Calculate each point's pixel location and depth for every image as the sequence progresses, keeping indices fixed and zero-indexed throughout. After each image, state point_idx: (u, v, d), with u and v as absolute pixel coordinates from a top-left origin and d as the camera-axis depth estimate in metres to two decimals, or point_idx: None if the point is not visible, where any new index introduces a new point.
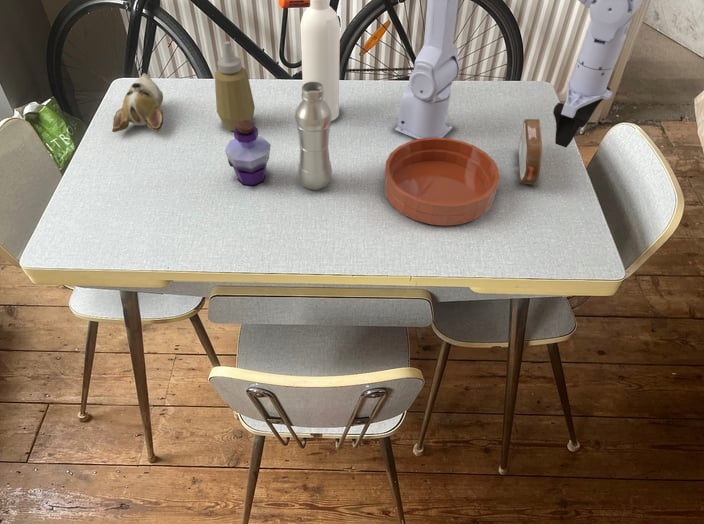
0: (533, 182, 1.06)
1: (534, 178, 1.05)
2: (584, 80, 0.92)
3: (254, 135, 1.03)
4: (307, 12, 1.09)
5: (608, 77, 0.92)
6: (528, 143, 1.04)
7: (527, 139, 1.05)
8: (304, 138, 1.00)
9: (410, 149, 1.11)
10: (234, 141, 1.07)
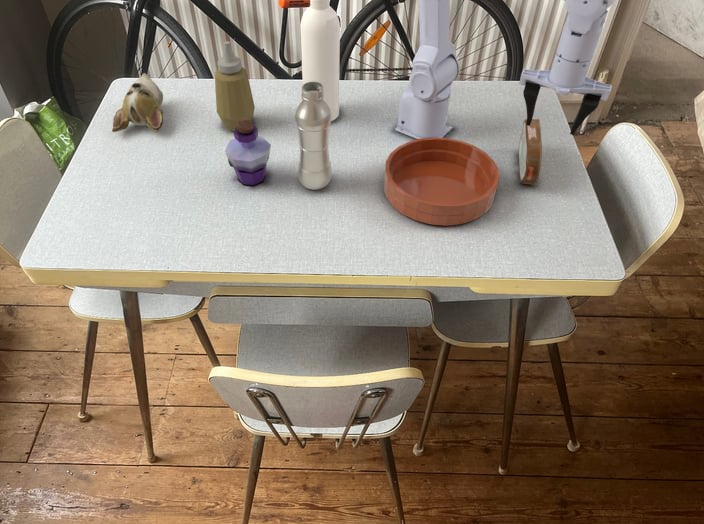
0: (533, 182, 1.06)
1: (534, 178, 1.05)
2: None
3: (254, 135, 1.03)
4: (307, 12, 1.09)
5: (564, 70, 0.93)
6: (528, 143, 1.04)
7: (527, 139, 1.05)
8: (304, 138, 1.00)
9: (410, 149, 1.11)
10: (234, 141, 1.07)
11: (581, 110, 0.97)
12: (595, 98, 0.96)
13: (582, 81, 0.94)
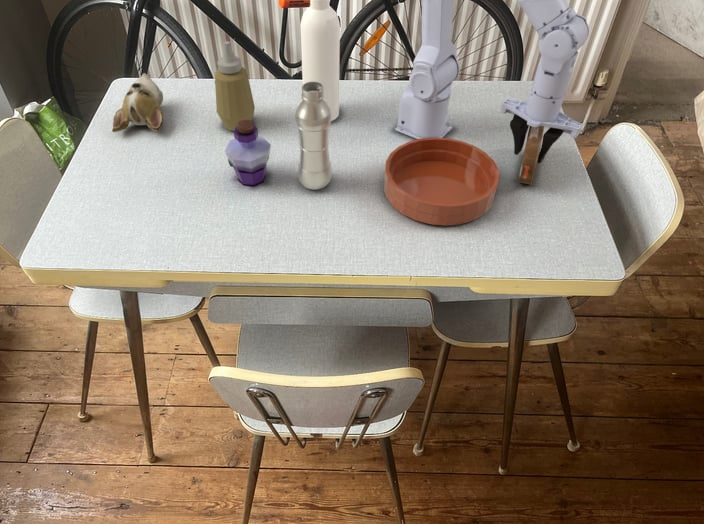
0: (529, 182, 1.06)
1: (529, 178, 1.05)
2: None
3: (254, 135, 1.03)
4: (307, 12, 1.09)
5: (536, 104, 1.00)
6: (527, 142, 1.04)
7: (527, 138, 1.05)
8: (304, 138, 1.00)
9: (410, 149, 1.11)
10: (234, 141, 1.07)
11: (543, 141, 1.03)
12: (557, 131, 1.02)
13: (553, 116, 1.01)
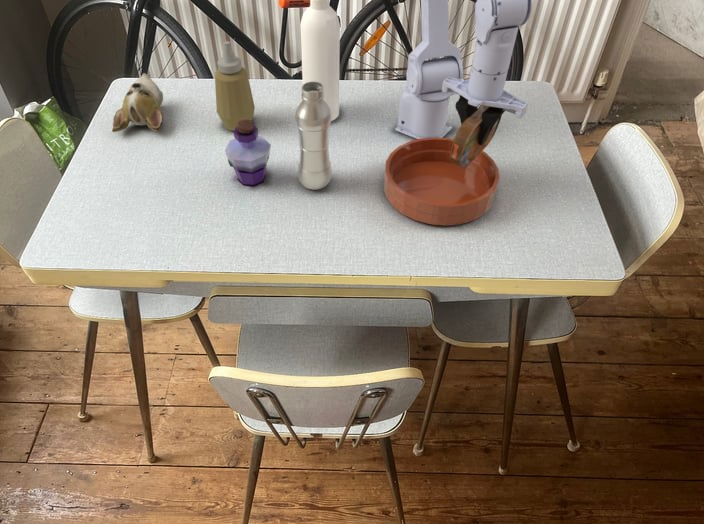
0: (459, 163, 0.99)
1: (458, 158, 0.98)
2: None
3: (254, 135, 1.03)
4: (307, 12, 1.09)
5: (476, 81, 0.92)
6: (466, 120, 0.97)
7: (469, 117, 0.98)
8: (304, 138, 1.00)
9: (410, 149, 1.11)
10: (234, 141, 1.07)
11: (483, 120, 0.96)
12: (497, 110, 0.94)
13: (496, 95, 0.93)
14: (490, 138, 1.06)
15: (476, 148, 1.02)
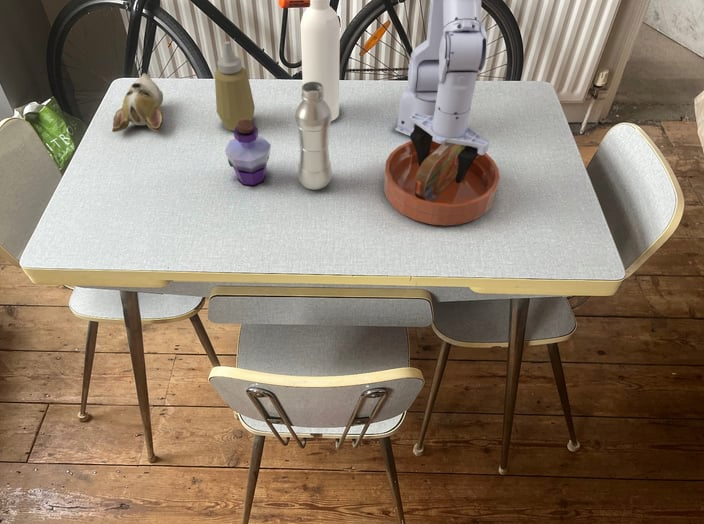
0: (423, 198, 1.02)
1: (422, 194, 1.01)
2: None
3: (254, 135, 1.03)
4: (307, 12, 1.09)
5: (439, 119, 0.95)
6: (427, 157, 1.01)
7: (430, 154, 1.01)
8: (304, 138, 1.00)
9: (410, 149, 1.11)
10: (234, 141, 1.07)
11: (459, 161, 0.98)
12: (473, 151, 0.96)
13: (459, 132, 0.96)
14: None
15: (442, 183, 1.06)
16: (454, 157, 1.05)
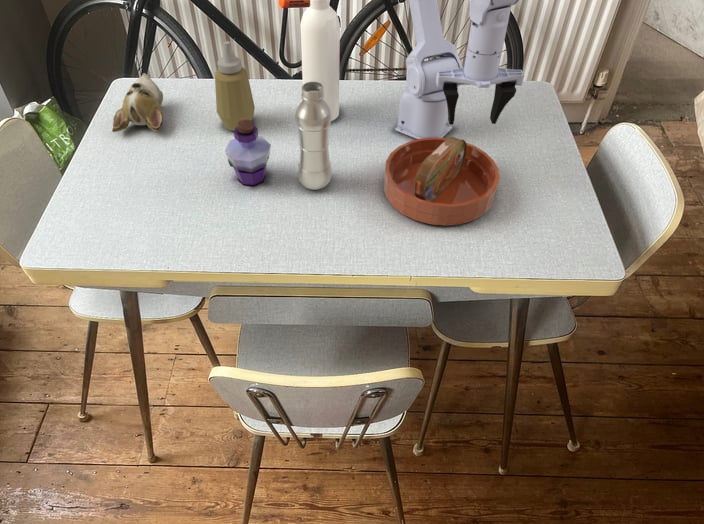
0: (423, 198, 1.02)
1: (422, 194, 1.01)
2: (465, 59, 0.97)
3: (254, 135, 1.03)
4: (307, 12, 1.09)
5: (482, 64, 0.94)
6: (427, 157, 1.01)
7: (430, 154, 1.01)
8: (304, 138, 1.00)
9: (410, 149, 1.11)
10: (234, 141, 1.07)
11: (501, 99, 0.99)
12: (511, 85, 0.99)
13: (497, 71, 0.97)
14: (457, 172, 1.09)
15: (442, 183, 1.06)
16: (454, 157, 1.05)
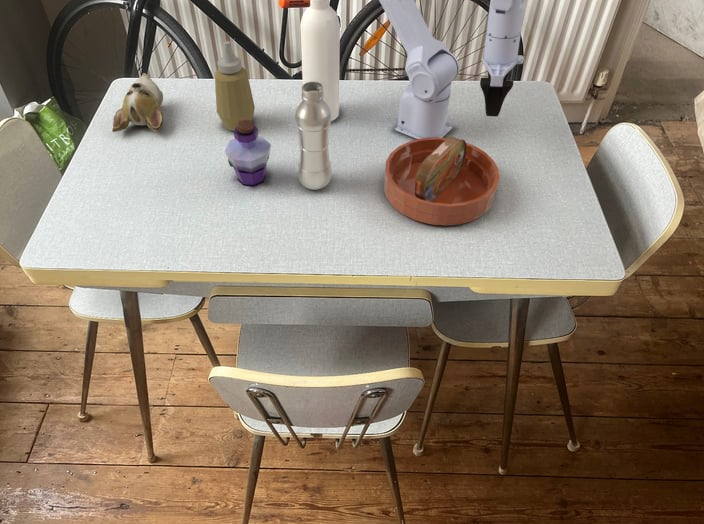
0: (423, 198, 1.02)
1: (422, 194, 1.01)
2: (499, 51, 0.98)
3: (254, 135, 1.03)
4: (307, 12, 1.09)
5: (518, 43, 0.99)
6: (427, 157, 1.01)
7: (430, 154, 1.01)
8: (304, 138, 1.00)
9: (410, 149, 1.11)
10: (234, 141, 1.07)
11: None
12: None
13: None
14: (457, 172, 1.09)
15: (442, 183, 1.06)
16: (454, 157, 1.05)
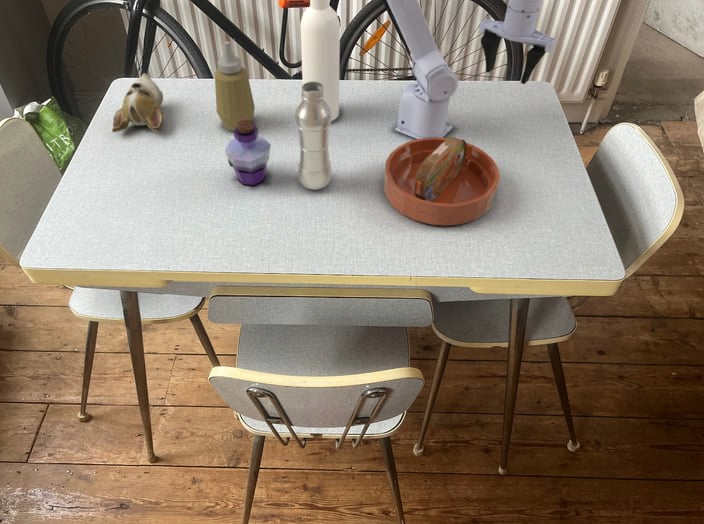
0: (423, 198, 1.02)
1: (422, 194, 1.01)
2: (534, 22, 1.06)
3: (254, 135, 1.03)
4: (307, 12, 1.09)
5: None
6: (427, 157, 1.01)
7: (430, 154, 1.01)
8: (304, 138, 1.00)
9: (410, 149, 1.11)
10: (234, 141, 1.07)
11: None
12: None
13: None
14: (457, 172, 1.09)
15: (442, 183, 1.06)
16: (454, 157, 1.05)
